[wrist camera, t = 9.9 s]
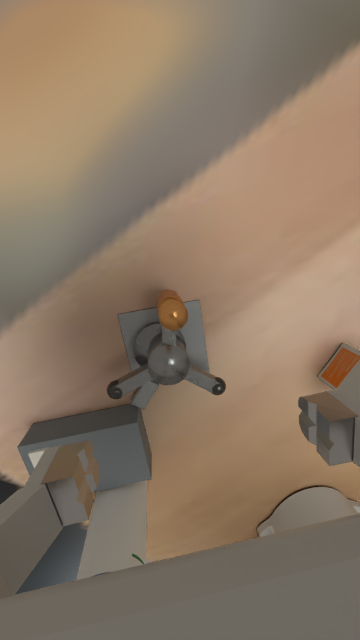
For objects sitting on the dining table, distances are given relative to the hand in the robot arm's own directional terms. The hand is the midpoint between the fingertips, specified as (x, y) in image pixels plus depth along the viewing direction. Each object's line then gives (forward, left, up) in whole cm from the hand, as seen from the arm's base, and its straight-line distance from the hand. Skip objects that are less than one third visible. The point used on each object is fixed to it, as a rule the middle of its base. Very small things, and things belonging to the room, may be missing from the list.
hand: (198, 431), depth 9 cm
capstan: (-3, +1, -21) cm, 21 cm away
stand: (-11, +8, -21) cm, 25 cm away
